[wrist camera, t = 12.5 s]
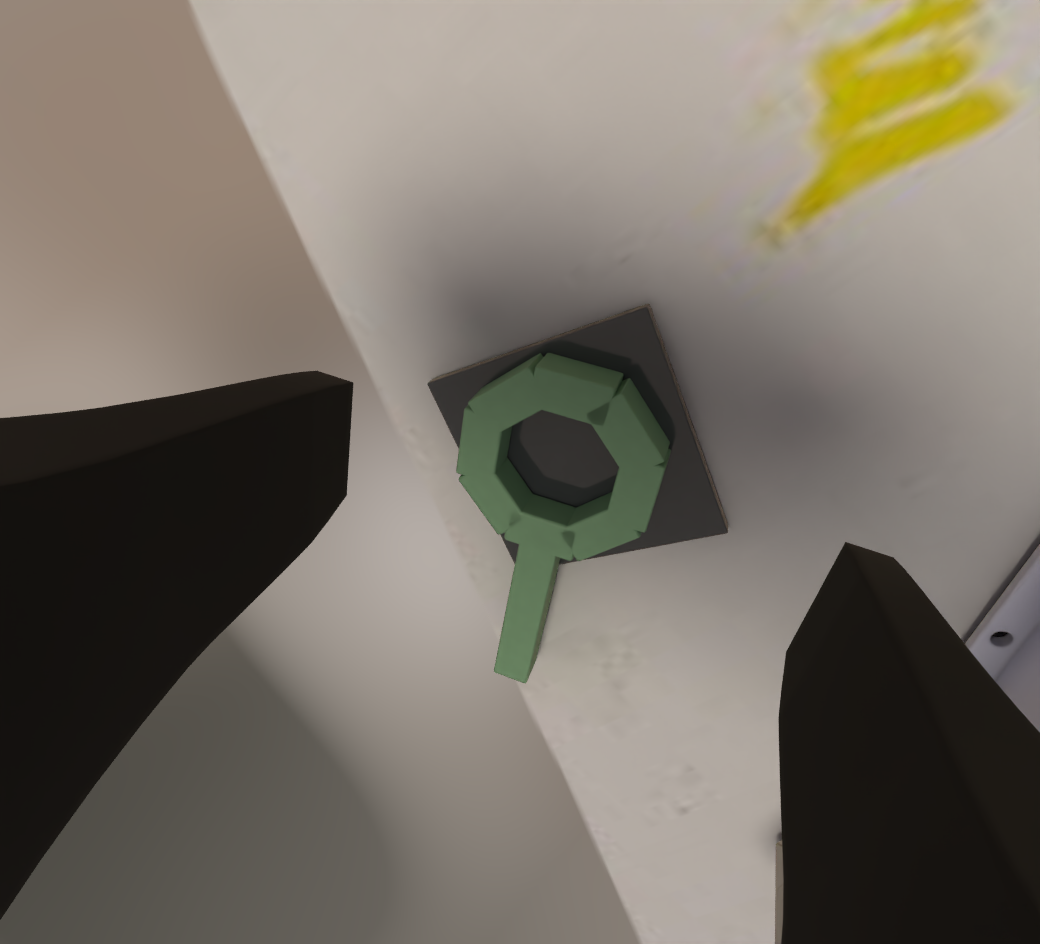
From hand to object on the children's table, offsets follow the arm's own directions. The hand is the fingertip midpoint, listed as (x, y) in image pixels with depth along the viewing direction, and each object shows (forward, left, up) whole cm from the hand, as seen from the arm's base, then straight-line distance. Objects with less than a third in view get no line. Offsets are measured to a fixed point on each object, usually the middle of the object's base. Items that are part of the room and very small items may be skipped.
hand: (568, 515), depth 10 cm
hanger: (-7, +1, -10) cm, 12 cm away
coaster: (-5, +1, -10) cm, 11 cm away
